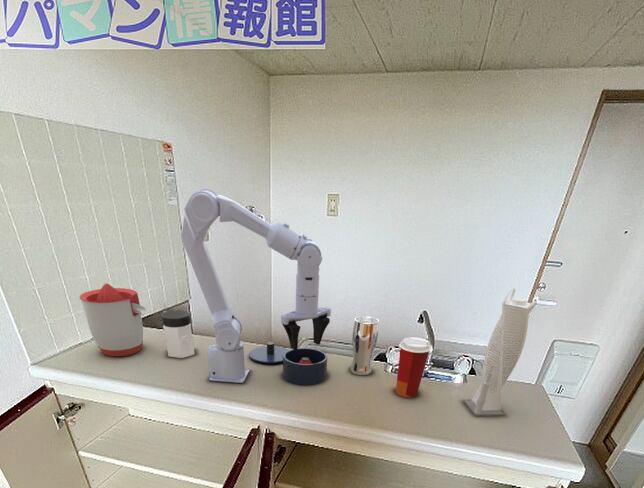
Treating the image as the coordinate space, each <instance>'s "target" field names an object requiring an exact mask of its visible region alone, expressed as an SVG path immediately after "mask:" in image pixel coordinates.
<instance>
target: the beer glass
mask: <svg viewBox="0 0 644 488" xmlns="http://www.w3.org/2000/svg"><path fill="white" fill-rule="evenodd" d="M379 325H380V320H379V318H376V317H373V316H369V315H368V316H357V317H355V318H354V323H353V328H352V337H351V339H352V340H351V341H352V363H351V366H350V372H351V373H352V374H354V375H357V376H368V375H371V373H372V360H373V355H374V352H375V350H376V347H377V342H378V337H379V327H380V326H379Z"/></svg>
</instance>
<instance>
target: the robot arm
mask: <svg viewBox="0 0 644 488" xmlns="http://www.w3.org/2000/svg"><path fill="white" fill-rule="evenodd" d="M184 206H185V207H184V208H183V221H182V228H181V237H180V238H181V242H182V244H183V247H184V249H185V252H186V254H187V257H188V260H189V263H190V264H191V267H192V270H193V272H194V275H195V277H196V279H197V282H198V285H199V287H200V289H201V291H202V294H203V297H204V299H205V302H206V304H207V306H208V309H209V311H210V314H211V318H212V324H213V328H214V331H215V336H214V338H215V343H216V344H210V345H209V347H208V350H207V362H208V363H207V364H208V370H209V381H210V382H211V381H212V382H223V383H224V382H225V383H239V384H243V383H244V382H245V380H246V378H247V376H248V375H249V373H250V369H246V366H245V365H246V363H245V347H244V342H243V340H242V339H241V333H242V330H243V325H242V323H241V321H240V320H239V319H238V318H237V317H236V316H235V314H234V312H233V309H232V308H231V306H230V305H229V303H228V300H227V299H228V298H227V297H226V294H225V292H224V289H223V287H222V284H221V281H220V279H219V276H218V273H217V269H216V268H215V265H214V262H213V260H212V257H211V254H210V252H209V249H208V246H207V243H206V241H205V240H206V237H207V235H208V233H209V231H210V229H211V226H212V225H213V224H214V222H215V221H216V220H217V219H218V218H219V223H228V222H230V223H231V222H234V223H236V224H238V225H239V226H242V227H243V228H245V229H247V230H249V231H251V232H253V233H255V234H256V235H259V236H261V237H262V238H264V239H265V240H266V244H267V247H268V248H270V249H272V250H274V251H275V252H277V253H279V254H280V255H282V256H284V257H286V258H287V259H289V260H291V261H297V268H296V269H297V270H296V275H295V310H293V311H291V312H288V313H285V314H281V315H280V323H281V325H282V326H283V329H284V331H285V333H286V335H287V337H288V341H289V346H290V349H294V350H297V348H299V346H298V344H299V334H300V330H301V326H300V325H298V322H301V321H308V320H311V322H312V327H313V330H312V331H313V335H312V338H313V343H314V344H315V345H317V346H319V345H321V342H322V339H323V336H324V333H325V330H326V329H327V327H328V326H329V324H330V322H331V319H330V318H329V317H331V313H332V311H331V310H332V309H331V308H329V307H327V306H325V307H319V295H320V294H319V289H320V265H321V263H322V261H323V256H322V251H321V249H320V247H319V246H318V245H317V243H316V242H315V241H314V240H312V239H311V238H308V236H307V235H306V234H303V235H301V234H300V233H298V232H296V231H295V230H293V229H291V228H290V224H288V223H287V222H285V221H284V222H279V221H278V222H275V223H272V224H271V223H270V222H268V221H267V220H266V219H263V218H262V217H260V216H259V215H258V214H255V213H253V212H252V211H251V210H249V209H247V208H246V207H245V206H243V205H241V204H240V203H239V202H236V201H235V200H233V199H231V198H229V197H226V196H224V195H222V194H217V193H216V192H215V191H213V190H212V189H208V188H204V189H201V190H200V189H199V190H198V191H196V192H193V193H192V194H191V195H190V197H189V199H188V200H187V202H186V204H185V205H184Z"/></svg>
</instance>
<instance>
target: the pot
mask: <svg viewBox="0 0 644 488" xmlns="http://www.w3.org/2000/svg"><path fill="white" fill-rule="evenodd" d="M288 350H289V351H287V352H285V353H284V355H283V362H282V377H283V379H284V380H285V381H286V382H288V383H291V384H293V385H299V386H311V385H312V386H313V385H317V384H320V383H322V382H324V381H325V380H326V379H327V370H328V369H327V368H328V355H327V353H326V352H324V351H322V350H319V349H315V348H311V347H297V350H294V349H292V348H290V349H288ZM304 357H306V358H309V360H310V361H311V362H312V364H299V361H300V360H301V359H302V358H304Z"/></svg>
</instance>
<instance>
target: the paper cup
mask: <svg viewBox="0 0 644 488" xmlns="http://www.w3.org/2000/svg"><path fill="white" fill-rule="evenodd" d="M398 347H399V348H400V349H399V358H398V367H397V376H396V386H395V393H396V394H397V395H398V396H400V397H403V398H414V397H416V396H417V395H418V392H419V390H420V385H421V383H422V378H423V375H424V372H425V371H424V370H425V367H426V363H427V360H428V357H429V353H430V351H431V350H432V347H431V343H430V341H429V340H427V339H425V338H422V337H416V336H412V337H411V336H409V337H405V338H403V339H402V340H401V341H400V343H399V344H398Z"/></svg>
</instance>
